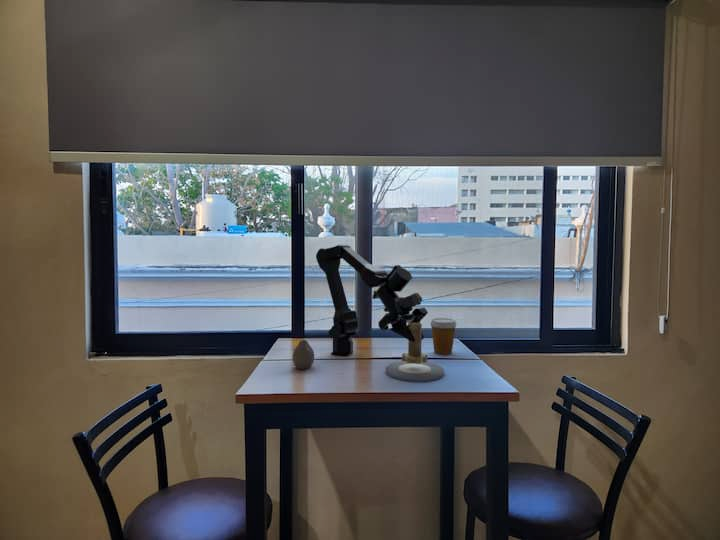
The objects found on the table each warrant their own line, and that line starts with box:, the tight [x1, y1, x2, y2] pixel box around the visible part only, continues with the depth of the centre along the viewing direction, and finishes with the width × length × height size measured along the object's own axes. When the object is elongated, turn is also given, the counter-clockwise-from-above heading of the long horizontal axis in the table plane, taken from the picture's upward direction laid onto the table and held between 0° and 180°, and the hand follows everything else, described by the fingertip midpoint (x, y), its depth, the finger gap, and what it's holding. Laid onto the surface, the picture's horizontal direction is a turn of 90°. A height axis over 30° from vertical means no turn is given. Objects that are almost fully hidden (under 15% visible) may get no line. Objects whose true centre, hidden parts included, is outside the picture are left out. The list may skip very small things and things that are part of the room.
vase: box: [292, 339, 315, 370], centre depth 147 cm, size 7×7×9 cm
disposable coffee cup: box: [429, 317, 458, 356], centre depth 167 cm, size 10×10×12 cm
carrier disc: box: [385, 360, 445, 383], centre depth 143 cm, size 18×18×1 cm
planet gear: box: [401, 322, 428, 364], centre depth 142 cm, size 8×8×12 cm
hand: (418, 340), depth 141 cm, fingers closed on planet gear, 4 cm apart
